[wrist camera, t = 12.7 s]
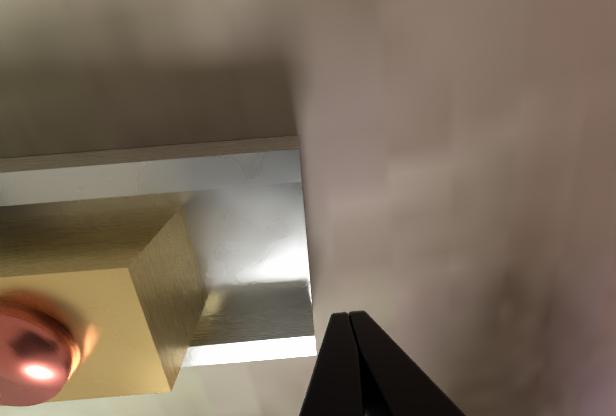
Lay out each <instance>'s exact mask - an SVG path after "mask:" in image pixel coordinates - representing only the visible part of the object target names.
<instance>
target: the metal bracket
mask: <svg viewBox="0 0 616 416" xmlns="http://www.w3.org/2000/svg"><path fill="white" fill-rule="evenodd" d="M174 205H183V208H184V212H185V216H186V220H187V225H188V229H189V233H190V237H191V241H192V245H193V249H194V253H195V257H196V261H197V266H198V270H199V274H200V278H201V282H202V286H203V290H204V294H205V298H206V304H205V306H204V309H203V311H202V314H201V316H200V319H199V322H198V324H197V327H196V329H195V332H194V334H193V337H192V339H191V342H190V345H189V347H188V350H187V352H186V355H185V357H184V360H183V362H182V365H181V367H187V366H198V365H209V364H221V363H232V362H243V361H254V360H266V359H277V358H288V357H299V356H311V355H316V348H315V336H314V324H313V311H312V299H311V287H310V275H309V263H308V251H307V239H306V227H305V215H304V202H303V190H302V178H301V166H300V154H299V142H298V135H293V136H281V137H268V138H255V139H243V140H230V141H218V142H205V143H192V144H180V145H167V146H154V147H142V148H129V149H117V150H104V151H91V152H79V153H66V154H54V155H41V156H28V157H16V158H3V159H0V219H2V218H15V217H29V216H42V215H55V214H68V213H82V212H95V211H108V210H121V209H134V208H148V207H161V206H174Z"/></svg>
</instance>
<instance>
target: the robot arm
mask: <svg viewBox="0 0 616 416" xmlns="http://www.w3.org/2000/svg"><path fill="white" fill-rule="evenodd" d="M299 416H466V415H465V414H464V413H463V412H462V411H461V410H460V409H459V408H458V407H457V406H456V405H455V404H454V403H453V402H452V401H451V400H450V399H449V398H448V397H447V396H446V395H445V393H444V392H443V391H442V390H441V389H440V388H439V387H438V386H437V385H436V384H435V383H434V382H433V381H432V380H431V379H430V378H429V377H428V376H427V375H426V374H425V373H424V372H423V371H422V370H421V369H420V368H419V367H418V366H417V364H416V363H415V362H414V361H413V360H412V359H411V358H410V357H409V356H408V355H407V354H406V353H405V352H404V351H403V350H402V349H401V348H400V347H399V346H398V345H397V344H396V343H395V342H394V341H393V340H392V339H391V338H390V337H389V335H388V334H387V333H386V332H385V331H384V330H383V329H382V328H381V327H380V326H379V325H378V324H377V323H376V322H375V321H374V320H373V319H372V318H371V317H370V316H369V315H368V314H367V313H366V312H365V311H352V312H349V314H348V313H346V312H341V313H333V314H332V315H331V317H330V320H329V323H328V327H327V330H326V333H325V336H324V339H323V342H322V345H321V348H320V352H319V355H318V358H317V361H316V364H315V367H314V370H313V373H312V377H311V380H310V383H309V386H308V389H307V392H306V395H305V399H304V402H303V405H302V408H301V411H300V414H299Z"/></svg>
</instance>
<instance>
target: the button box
mask: <svg viewBox="0 0 616 416" xmlns="http://www.w3.org/2000/svg"><path fill="white" fill-rule="evenodd" d="M205 304H206V298H205V294H204V290H203V286H202V282H201V278H200V274H199V270H198V266H197V261H196V257H195V253H194V249H193V245H192V241H191V237H190V233H189V229H188V225H187V220H186V216H185V212H184V208H183V205H174V206H161V207H148V208H134V209H121V210H108V211H95V212H82V213H68V214H55V215H42V216H29V217H15V218H2V219H0V406H30V405H36V404H40V403H44V402H56V401H67V400H79V399H91V398H103V397H114V396H126V395H138V394H150V393H162V392H171V391H172V388H173V385H174V383H175V380H176V378H177V375H178V373H179V370H180V368H181V365H182V362H183V360H184V357H185V355H186V352H187V350H188V347H189V345H190V342H191V339H192V337H193V334H194V332H195V329H196V327H197V324H198V322H199V319H200V316H201V314H202V311H203V309H204V306H205Z"/></svg>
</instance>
